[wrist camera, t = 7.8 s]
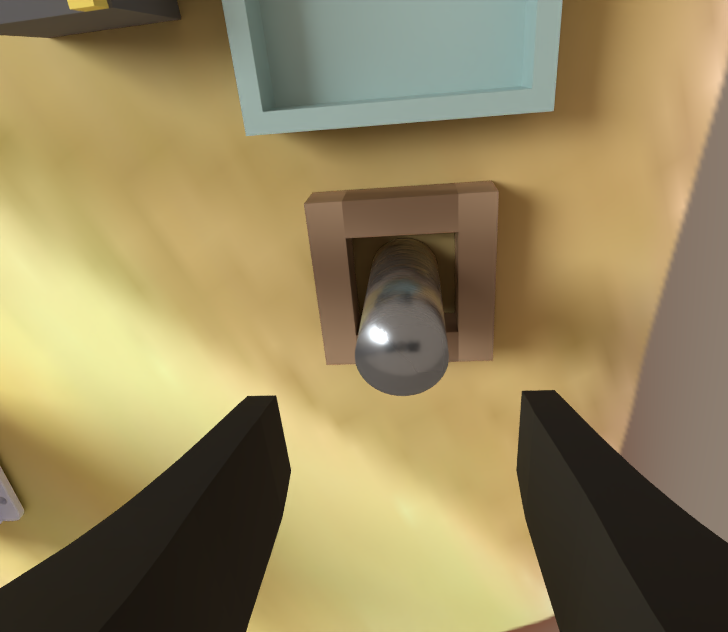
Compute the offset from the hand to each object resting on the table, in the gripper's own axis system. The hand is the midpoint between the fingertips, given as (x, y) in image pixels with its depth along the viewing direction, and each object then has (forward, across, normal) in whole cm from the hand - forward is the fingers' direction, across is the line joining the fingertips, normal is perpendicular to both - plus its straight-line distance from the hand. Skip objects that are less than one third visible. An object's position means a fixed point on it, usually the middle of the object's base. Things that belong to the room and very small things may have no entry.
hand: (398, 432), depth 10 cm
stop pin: (+9, 0, 0) cm, 9 cm away
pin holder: (+9, 0, 0) cm, 9 cm away
